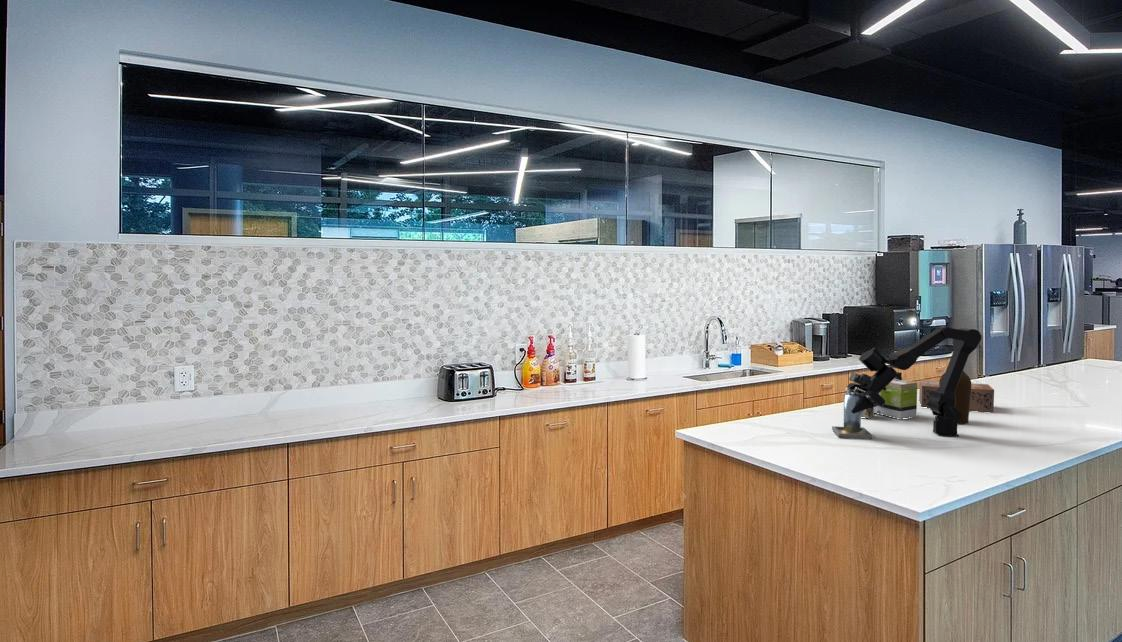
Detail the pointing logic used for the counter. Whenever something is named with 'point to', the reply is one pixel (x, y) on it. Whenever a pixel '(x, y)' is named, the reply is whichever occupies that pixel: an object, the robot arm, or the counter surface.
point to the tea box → (899, 399)
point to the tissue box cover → (978, 399)
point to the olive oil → (962, 397)
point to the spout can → (851, 420)
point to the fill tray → (851, 433)
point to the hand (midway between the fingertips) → (848, 410)
